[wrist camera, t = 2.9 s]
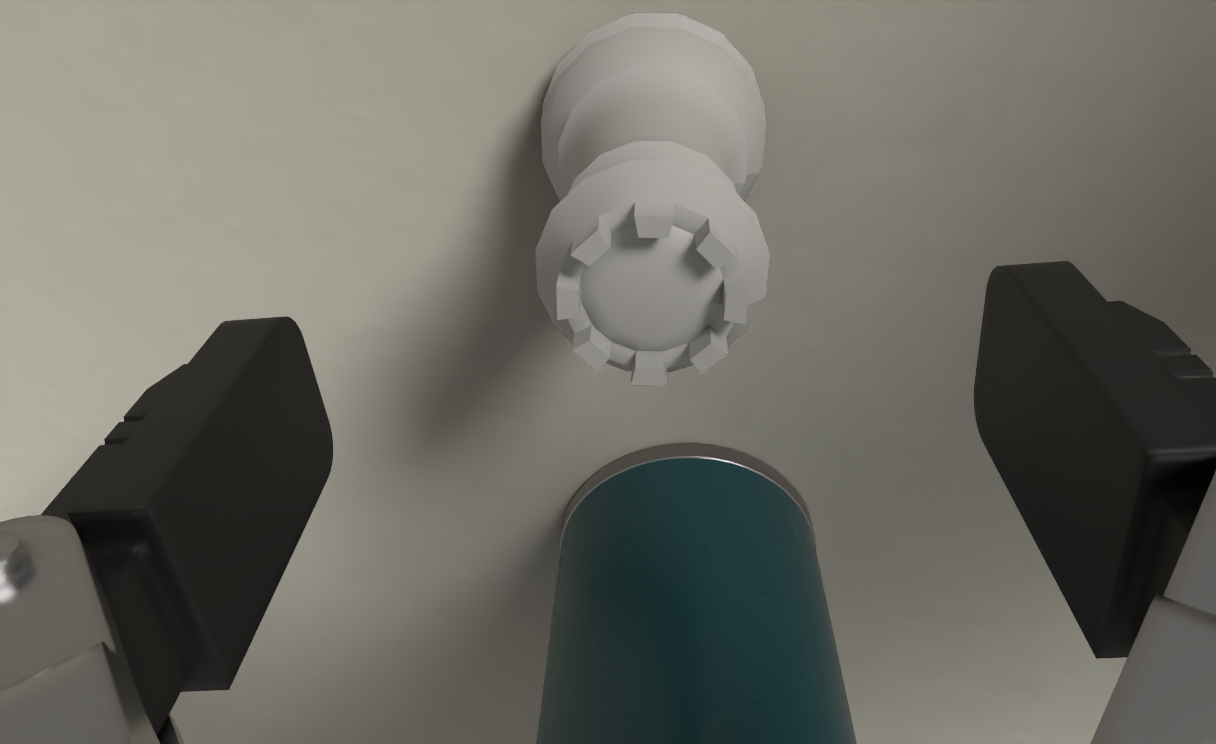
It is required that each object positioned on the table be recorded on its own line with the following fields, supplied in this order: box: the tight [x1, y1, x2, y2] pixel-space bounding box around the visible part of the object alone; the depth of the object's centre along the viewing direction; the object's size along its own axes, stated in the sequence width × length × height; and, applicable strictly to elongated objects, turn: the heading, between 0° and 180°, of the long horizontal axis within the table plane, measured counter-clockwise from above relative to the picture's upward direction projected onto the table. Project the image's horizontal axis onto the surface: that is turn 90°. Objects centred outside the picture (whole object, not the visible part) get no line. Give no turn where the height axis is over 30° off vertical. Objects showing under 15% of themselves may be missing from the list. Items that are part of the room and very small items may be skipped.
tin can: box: [536, 443, 857, 744], centre depth 21 cm, size 7×7×10 cm
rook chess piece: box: [536, 13, 770, 386], centre depth 16 cm, size 4×4×8 cm
